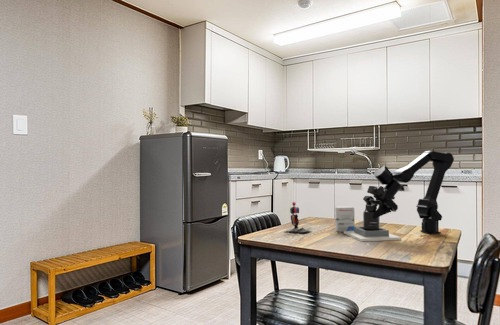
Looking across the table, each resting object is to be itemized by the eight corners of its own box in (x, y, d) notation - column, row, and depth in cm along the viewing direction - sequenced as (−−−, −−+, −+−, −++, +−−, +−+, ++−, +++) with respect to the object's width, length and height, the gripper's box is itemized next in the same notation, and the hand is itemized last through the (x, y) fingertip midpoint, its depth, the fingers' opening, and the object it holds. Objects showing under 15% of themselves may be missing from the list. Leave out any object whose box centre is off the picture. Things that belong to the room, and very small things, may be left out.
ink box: (352, 230, 175) (352, 206, 175) (354, 231, 170) (354, 207, 170) (335, 229, 175) (334, 206, 176) (336, 231, 170) (336, 207, 171)
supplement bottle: (372, 233, 154) (372, 206, 154) (360, 231, 160) (359, 204, 160) (382, 231, 157) (382, 205, 158) (370, 229, 163) (369, 203, 163)
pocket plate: (379, 232, 169) (379, 224, 169) (400, 239, 151) (400, 231, 151) (343, 233, 166) (343, 225, 166) (361, 241, 148) (361, 232, 148)
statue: (284, 234, 170) (280, 203, 171) (292, 231, 178) (288, 201, 179) (305, 234, 164) (300, 202, 165) (312, 230, 172) (308, 200, 173)
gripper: (366, 178, 169) (346, 202, 166) (391, 180, 151) (369, 207, 148) (380, 194, 171) (361, 218, 168) (407, 197, 153) (385, 224, 150)
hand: (368, 217), depth 158 cm, fingers closed on supplement bottle, 7 cm apart
